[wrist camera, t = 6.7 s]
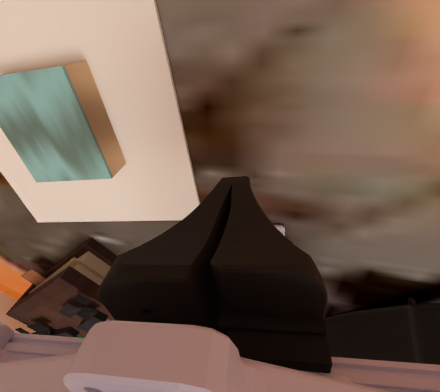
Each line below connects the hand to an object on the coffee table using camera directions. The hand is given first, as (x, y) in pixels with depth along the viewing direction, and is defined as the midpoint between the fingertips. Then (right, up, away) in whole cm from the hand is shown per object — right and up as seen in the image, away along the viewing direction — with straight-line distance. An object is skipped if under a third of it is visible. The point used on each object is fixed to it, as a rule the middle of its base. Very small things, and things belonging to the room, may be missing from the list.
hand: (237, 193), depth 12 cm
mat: (-15, +7, +10) cm, 20 cm away
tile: (-11, +6, +8) cm, 15 cm away
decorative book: (-16, -18, +29) cm, 38 cm away
